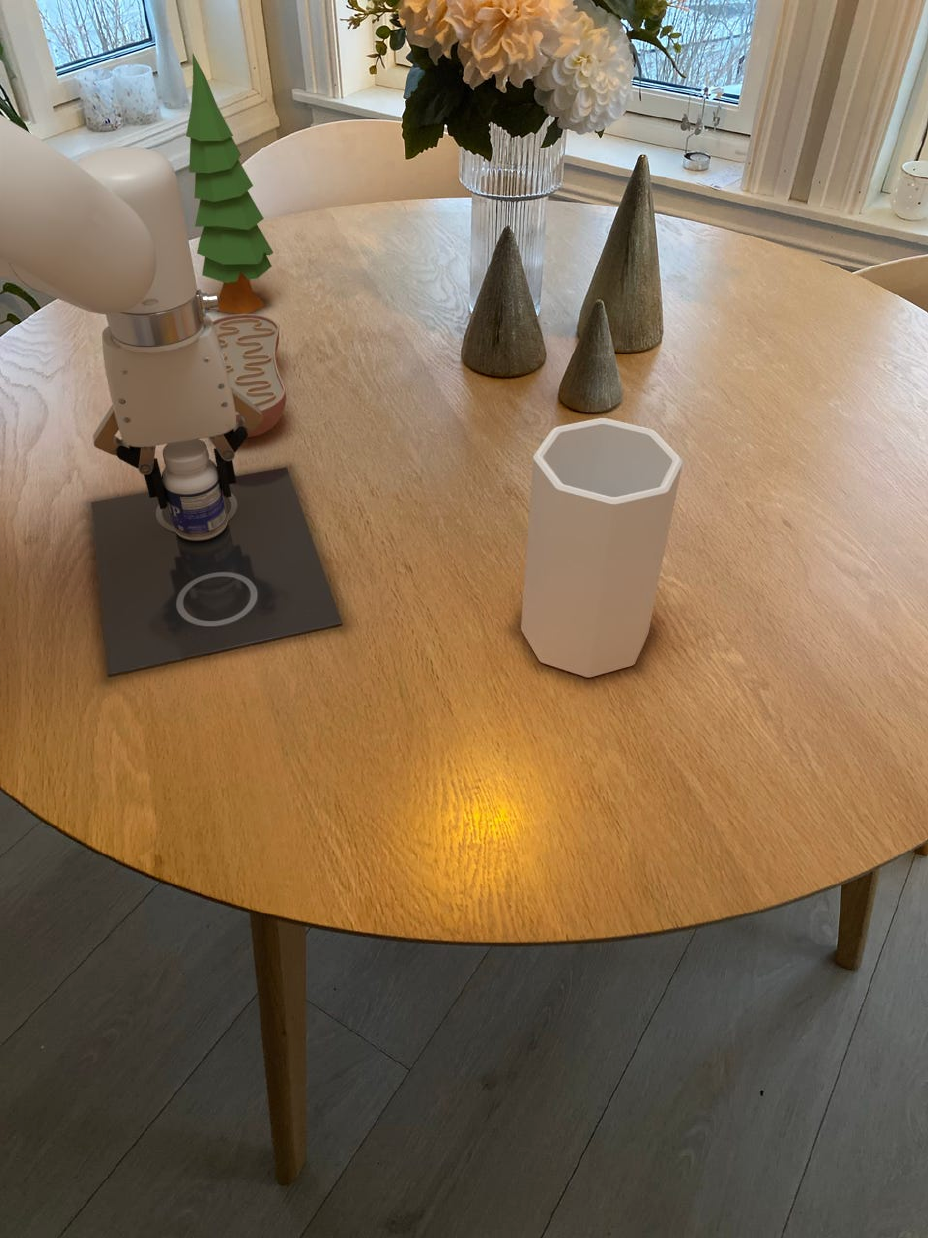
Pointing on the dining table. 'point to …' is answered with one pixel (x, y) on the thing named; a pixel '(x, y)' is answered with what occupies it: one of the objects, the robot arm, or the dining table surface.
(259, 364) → the anatomical model
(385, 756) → the dining table surface
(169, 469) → the pill bottle
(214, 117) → the decorative tree
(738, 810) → the dining table surface
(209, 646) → the hob
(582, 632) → the cup
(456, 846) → the dining table surface
